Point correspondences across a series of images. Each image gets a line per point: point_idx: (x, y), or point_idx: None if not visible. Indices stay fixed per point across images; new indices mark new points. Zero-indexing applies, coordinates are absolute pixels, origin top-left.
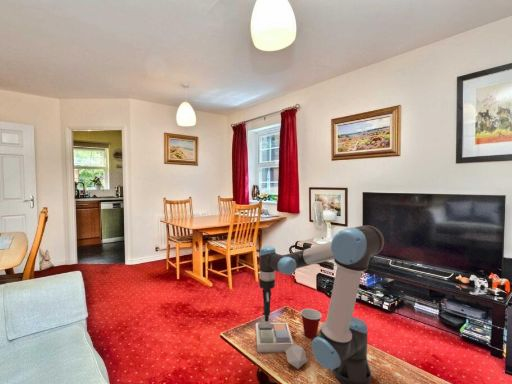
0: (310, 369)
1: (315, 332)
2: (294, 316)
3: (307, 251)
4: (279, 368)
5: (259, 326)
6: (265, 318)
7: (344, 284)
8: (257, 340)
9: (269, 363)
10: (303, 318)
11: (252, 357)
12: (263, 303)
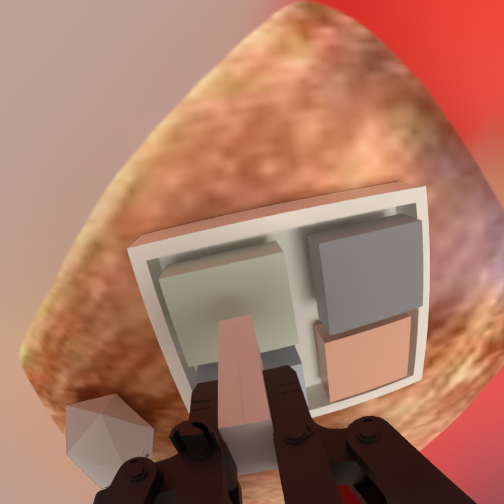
0: None
1: None
2: (490, 356)
3: None
4: (65, 355)
5: (368, 226)
6: (191, 412)
7: None
8: (177, 238)
9: (77, 312)
10: None
11: (94, 214)
12: (428, 465)
